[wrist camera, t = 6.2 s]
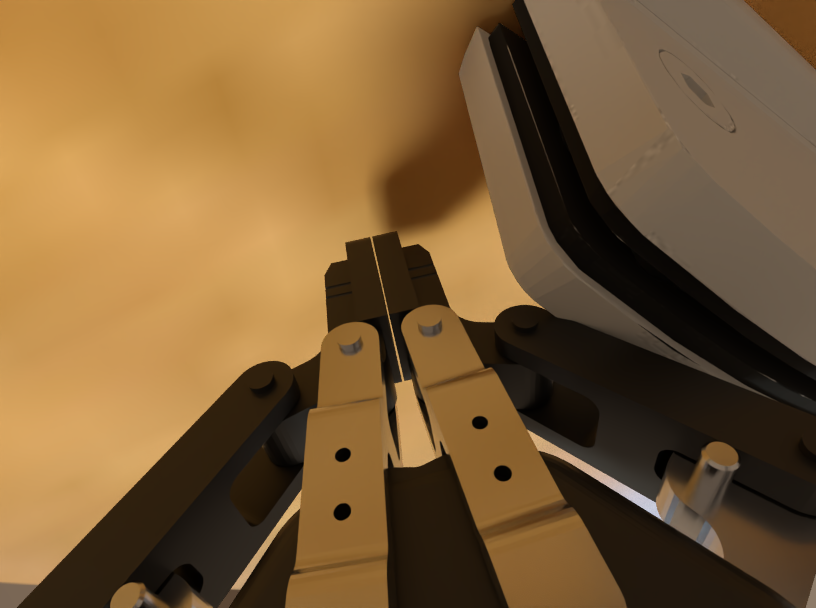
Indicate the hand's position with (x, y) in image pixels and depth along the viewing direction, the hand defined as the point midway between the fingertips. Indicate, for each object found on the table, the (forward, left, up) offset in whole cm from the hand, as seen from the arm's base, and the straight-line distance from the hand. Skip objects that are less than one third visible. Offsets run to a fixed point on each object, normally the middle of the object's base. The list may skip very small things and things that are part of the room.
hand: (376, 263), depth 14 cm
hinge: (0, +10, -2) cm, 10 cm away
